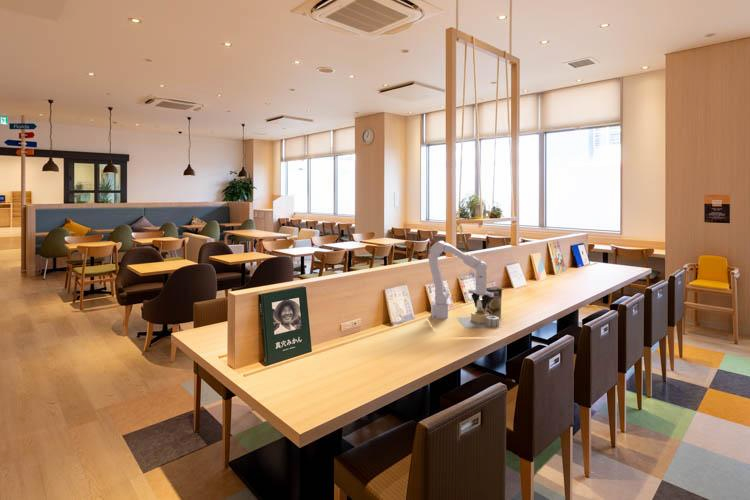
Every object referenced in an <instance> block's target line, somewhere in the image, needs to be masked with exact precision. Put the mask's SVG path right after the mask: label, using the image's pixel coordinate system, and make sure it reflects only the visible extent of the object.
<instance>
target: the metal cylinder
mask: <svg viewBox="0 0 750 500" xmlns="http://www.w3.org/2000/svg"><path fill="white" fill-rule="evenodd" d="M476 311H477V312H478V313H483V312H484V309H483V301H482V298H479V299H477V308H476Z"/></svg>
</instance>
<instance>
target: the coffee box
mask: <svg viewBox="0 0 750 500" xmlns="http://www.w3.org/2000/svg"><path fill="white" fill-rule="evenodd" d="M486 291H487V292H491V293H494V297H490V298H489V300H488V302H487V305H486V308H485V309H484V311H485V312H488V313H490V316H497V317H499V318H500V317H501V316H502V300H503V299H502V296H503V295H502V294H503V293H502V292H503V289H502V288H499V287H497V286H495V287H493V286H492V287H486ZM482 296H484V295H482Z"/></svg>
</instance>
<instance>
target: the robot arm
mask: <svg viewBox="0 0 750 500" xmlns="http://www.w3.org/2000/svg"><path fill="white" fill-rule="evenodd" d="M442 253H444V254H448V253H449V254H451V255H454V256H456V257H457V258H460V259H461V260H462V261H463V264H465V265H467V266H469V267H470V268H471V269H474V270H475V271H476V274H475V289H468V292H467V293H468V294H471V295H470V296H471V298H472V300H473V303H474V306H475V308H476V309H477V299H480V296H481V299H482V301H483V309H485V308H486V305H487V302H488V300H489V298H490V297H494V293H491V292H487V291H486V288H487V268H488V264H487V263H486V262H485V261H484V260H481V259H478V258H477V257H475V255H474V254H473V253H471V254H470V253H467V254H466V253H464V252H462V251H461V250H459V249H458V248H457V247H455V246H454V245H452V244H451V243H449V242H446V241H444V240H438V241H436V242H435V243H434V244H432V246H431V247H430V251H429V254H428V256H427V257H428V263H429V266H430V271H431V276H432V280H433V284H434V295H435V296H434V301H435V302H434V303H431V304H430V316H431V318H432V320H433V319H439V320H440V319H441V320H442V319H443V320H445V319H448V317H449V303H448V299H449V296H450V295H449V292H448V291H447V290H446V287H445V285H444V280H443V276H442V272H441V268H440V264H439V257H440V255H442ZM483 295H484V296H483Z"/></svg>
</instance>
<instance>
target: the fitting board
mask: <svg viewBox="0 0 750 500" xmlns="http://www.w3.org/2000/svg"><path fill="white" fill-rule="evenodd" d="M470 316H471V317H469V316H467V317H462V316H461V317H456V319H457V320H458V322H459V323H460V324H461V325H462V327H463V328H464V329H494V328H495V329H497V328H501V329H502V328H504V327H503V326H502V325H501V324H500V316H499V317H498V316H497V315H493V316H490V313H488V312H485V311H484V312H483V313H478V312H477V310H473V311H471V312H470Z"/></svg>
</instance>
